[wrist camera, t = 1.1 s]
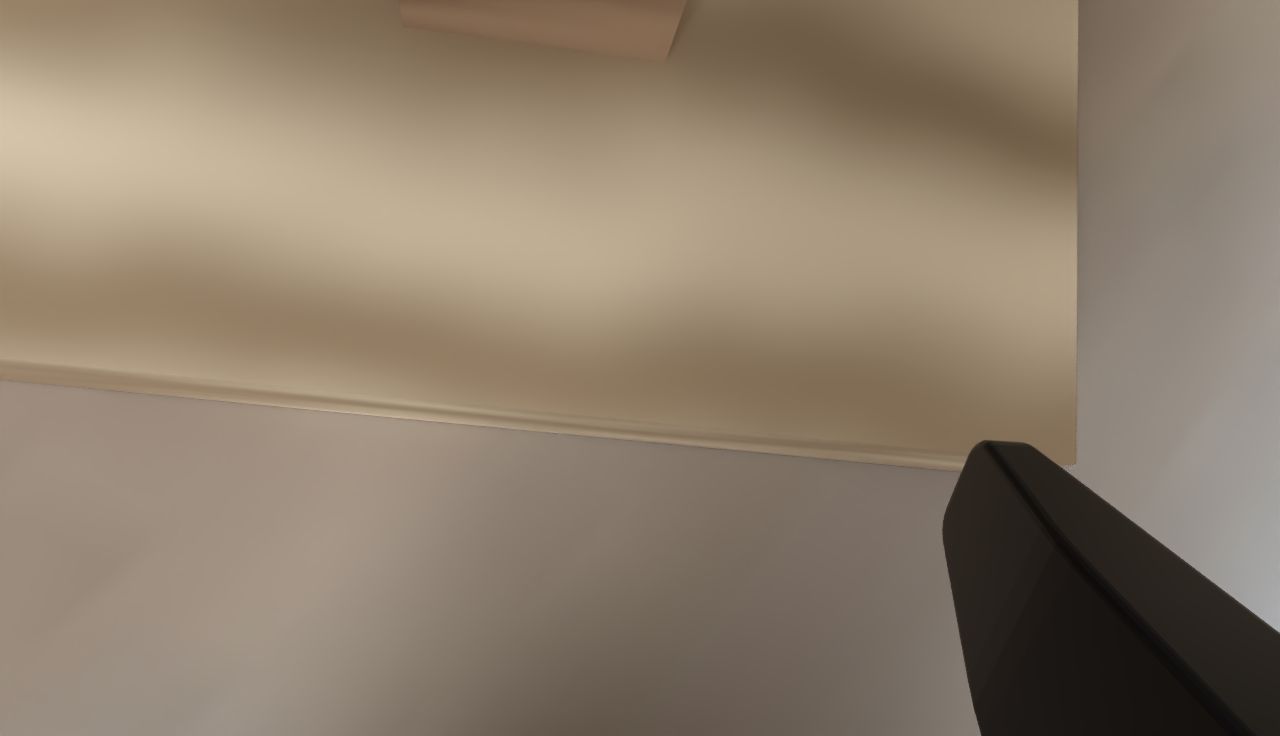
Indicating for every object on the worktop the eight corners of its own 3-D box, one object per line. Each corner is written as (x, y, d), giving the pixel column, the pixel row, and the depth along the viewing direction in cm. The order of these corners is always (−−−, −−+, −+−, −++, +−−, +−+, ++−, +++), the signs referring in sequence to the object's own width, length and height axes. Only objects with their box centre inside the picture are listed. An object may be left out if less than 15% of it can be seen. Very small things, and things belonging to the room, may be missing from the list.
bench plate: (1003, 475, 23) (1076, 463, 21) (-74, 372, 21) (-166, 341, 18) (1013, -102, 26) (1078, -186, 23) (57, -258, 23) (-5, -375, 21)
